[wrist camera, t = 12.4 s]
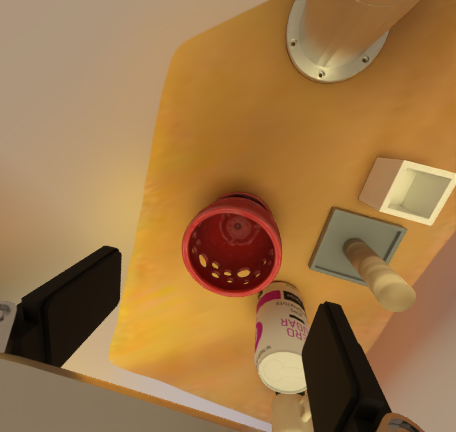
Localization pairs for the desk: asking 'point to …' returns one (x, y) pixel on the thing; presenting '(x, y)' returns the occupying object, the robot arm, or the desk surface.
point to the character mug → (291, 413)
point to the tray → (346, 229)
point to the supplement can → (281, 338)
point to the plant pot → (233, 245)
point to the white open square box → (407, 189)
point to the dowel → (379, 276)
